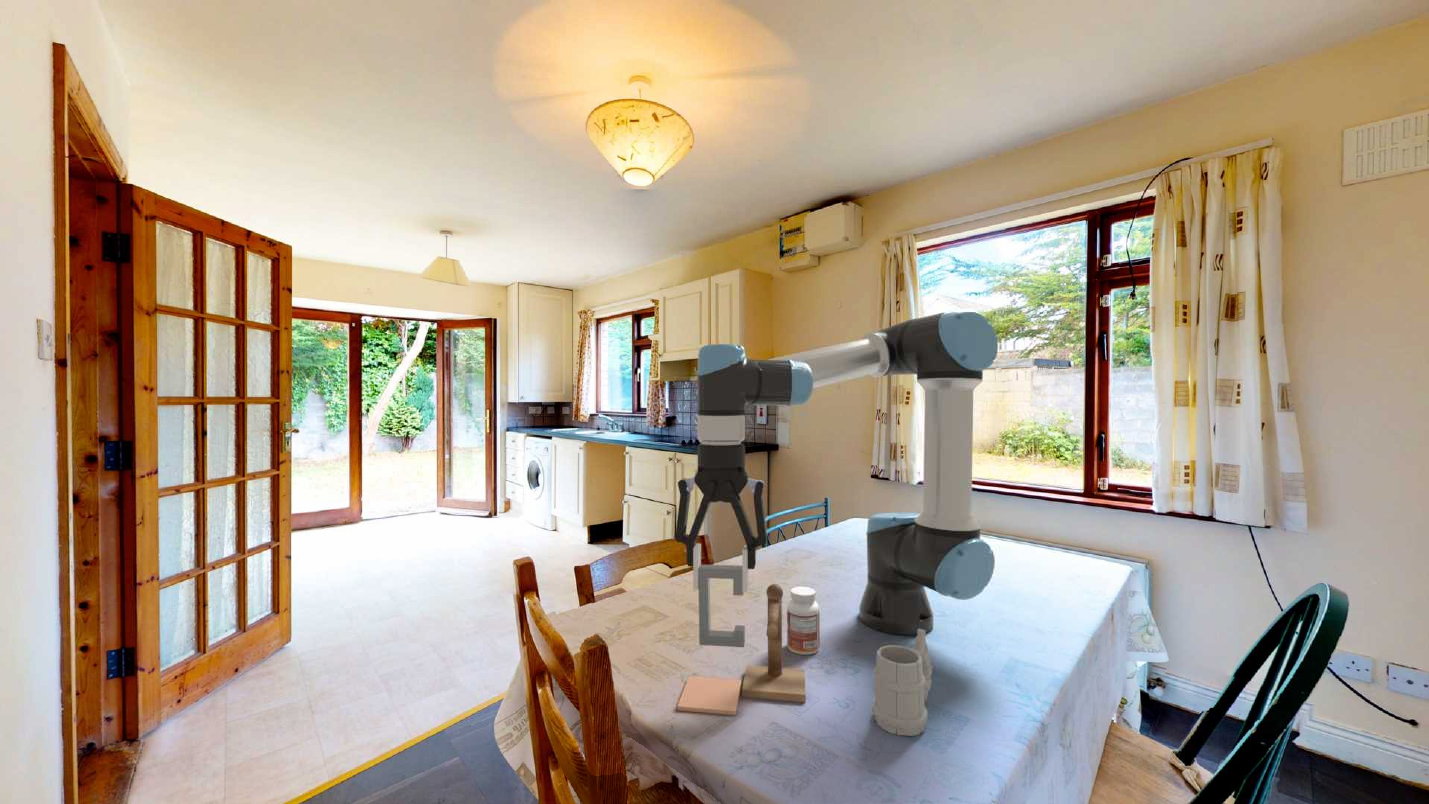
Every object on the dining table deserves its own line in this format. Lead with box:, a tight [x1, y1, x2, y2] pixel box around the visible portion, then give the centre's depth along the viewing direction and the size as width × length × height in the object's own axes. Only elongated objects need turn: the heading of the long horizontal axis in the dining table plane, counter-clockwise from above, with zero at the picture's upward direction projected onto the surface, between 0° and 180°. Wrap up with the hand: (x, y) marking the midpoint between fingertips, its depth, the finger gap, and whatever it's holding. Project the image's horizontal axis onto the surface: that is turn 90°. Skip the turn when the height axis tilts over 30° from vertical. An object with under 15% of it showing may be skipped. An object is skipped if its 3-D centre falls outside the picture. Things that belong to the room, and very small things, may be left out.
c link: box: [698, 564, 746, 648], centre depth 82 cm, size 7×2×12 cm, turn 82°
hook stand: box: [741, 583, 807, 703], centre depth 84 cm, size 14×10×16 cm
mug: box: [871, 629, 933, 737], centre depth 78 cm, size 8×12×12 cm, turn 127°
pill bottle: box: [786, 586, 821, 656], centre depth 100 cm, size 6×6×11 cm
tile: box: [676, 675, 743, 716], centre depth 84 cm, size 9×9×1 cm
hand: (721, 587), depth 83 cm, fingers closed on c link, 7 cm apart
